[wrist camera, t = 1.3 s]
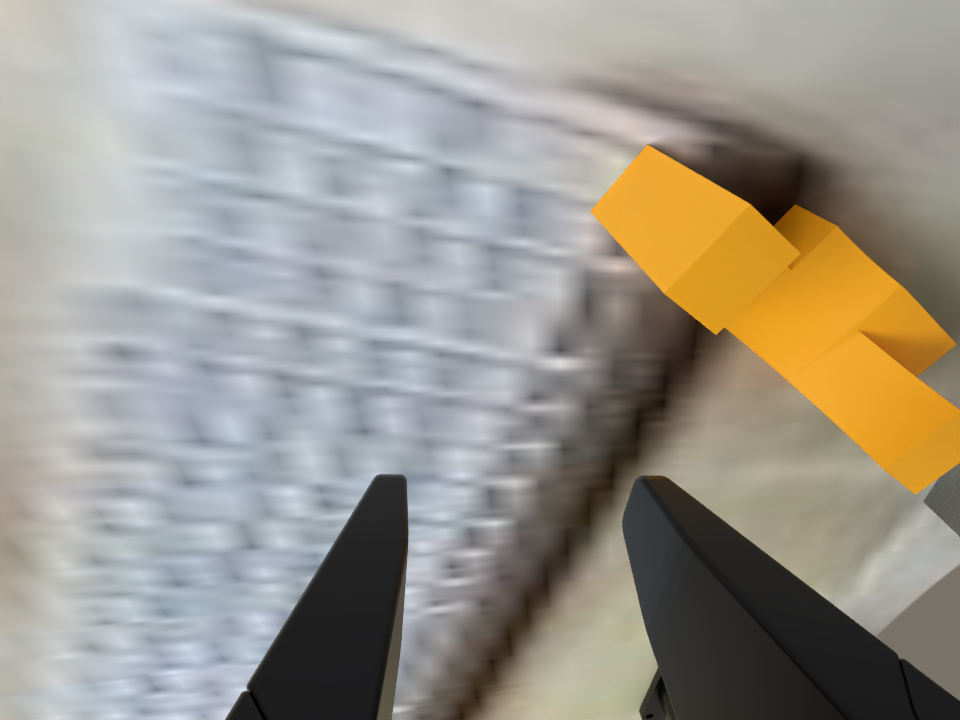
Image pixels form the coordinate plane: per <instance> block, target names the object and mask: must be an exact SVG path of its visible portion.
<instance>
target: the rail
mask: <svg viewBox="0 0 960 720" xmlns="http://www.w3.org/2000/svg"><path fill="white" fill-rule="evenodd" d="M924 503H925V504H926V505H927V506H928V507H929V508H930V509H931V510H933V511H934V512H935V513H936V514H937V515H938V516H939V517H940V518H941V519H942V520H943V521H944V522H945V523H946V524H947V525H948V526H949V527H950V528H951V529H952V530H954V531H955V532H956V533H957V534H958V535H959V536H960V463H959V464H957V465H956V466H955V467H953V468H952V469H950V470H949V471H948V472H946V473H945V474H943V475H942V476H941V478H940V479H939V480H938V482H937V483H936V485H935V486H934V488H933V489H932V491H931V492H930V494H929V495H928V497H927V498H926V500H925V501H924Z"/></svg>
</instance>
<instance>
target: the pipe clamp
mask: <svg viewBox="0 0 960 720" xmlns="http://www.w3.org/2000/svg"><path fill="white" fill-rule="evenodd" d="M590 212H591V213H592V214H593V215H594V216H595V217H596V218H597V219H598V221H599V222H600V223H601V224H602V225H603V226H604V227H605V228H606V229H607V231H608V232H609V233H610V234H611V235H612V236H613V237H614V238H615V239H616V241H617V242H618V243H619V244H620V245H621V246H622V247H623V248H624V249H625V250H626V252H627V253H628V254H629V255H630V256H631V257H632V258H633V259H634V260H635V262H636V263H637V264H638V265H639V266H640V267H641V268H642V269H643V270H644V272H645V273H646V274H647V275H648V276H649V277H650V278H651V279H652V280H653V282H654V283H655V284H656V285H657V286H658V287H659V288H660V289H661V290H662V292H663V293H664V294H665V295H667V296H668V297H669V298H670V299H672V300H673V301H674V302H675V303H677V304H678V305H679V306H680V307H682V308H683V309H684V310H685V311H687V312H688V313H689V314H690V315H692V316H693V317H694V318H695V319H697V320H698V321H699V322H700V323H702V324H703V325H704V326H705V327H707V328H708V329H709V330H710V331H712V332H713V333H714V334H715V335H717V334H718V333H719V332H720V331H721V330H722V329H723V328H724V327H725V328H726V329H727V330H728V331H730V332H731V333H732V334H733V335H735V336H736V337H737V338H738V339H740V340H741V341H742V342H743V343H744V344H746V345H747V346H748V347H749V348H750V349H752V350H753V351H754V352H755V353H756V354H758V355H759V356H760V357H761V358H762V359H763V360H765V361H766V362H767V363H768V364H769V365H770V366H771V367H773V368H774V369H775V370H776V371H777V372H778V373H780V374H781V375H782V376H783V377H784V378H785V379H786V380H788V381H789V382H790V383H791V384H792V385H793V386H794V387H795V388H797V389H798V390H799V391H800V392H801V393H802V394H803V395H804V396H806V397H807V398H808V399H809V400H810V401H811V402H812V403H813V404H814V405H816V406H817V407H818V408H819V409H820V410H821V411H822V412H823V413H824V414H825V415H827V416H828V417H829V418H830V419H831V420H832V421H833V422H834V423H835V424H836V425H837V426H838V427H840V428H841V429H842V430H843V431H844V432H845V433H846V434H847V435H848V436H849V437H850V438H851V439H852V440H854V441H855V442H856V443H857V444H858V445H859V446H860V447H861V448H862V449H863V450H864V451H865V452H866V453H867V454H868V455H869V456H870V457H872V458H873V459H874V460H875V461H876V462H877V463H878V464H879V465H880V466H881V467H882V468H883V469H884V470H885V471H886V472H888V473H889V474H890V475H891V476H893V477H894V478H895V479H896V480H898V481H899V482H900V483H901V484H903V485H904V486H905V487H906V488H908V489H909V490H910V491H911V492H913V493H914V494H915V495H916V494H917V493H918V492H920V491H921V490H923V489H924V488H925V487H927V486H928V485H930V484H931V483H932V482H934V481H935V480H937V479H938V478H939V477H941V476H942V475H943V474H945V473H946V472H948V471H949V470H950V469H952V468H953V467H955V466H956V465H957V464H959V463H960V410H959V409H958V408H957V407H955V406H954V405H952V404H951V403H950V402H948V401H947V400H946V399H944V398H943V397H942V396H940V395H939V394H938V393H936V392H935V391H934V390H933V389H931V388H930V387H929V386H927V385H926V384H925V383H923V382H922V381H921V380H920V379H918V378H917V376H918V375H919V374H920V373H922V372H923V371H924V370H925V369H927V368H928V367H929V366H930V365H932V364H933V363H934V362H936V361H937V360H938V359H939V358H941V357H942V356H943V355H944V354H946V353H947V352H948V351H949V350H951V349H952V348H953V347H954V346H956V345H957V344H956V343H955V342H954V341H953V340H952V338H951V337H950V336H949V335H948V334H947V333H946V332H945V331H944V330H943V329H942V328H941V327H940V326H939V325H938V323H937V322H936V321H935V320H934V319H933V318H932V317H931V316H930V315H929V314H928V313H927V312H926V311H925V309H924V308H923V307H922V306H921V305H920V304H919V303H918V302H917V301H916V300H915V299H914V298H913V297H912V296H911V294H910V293H909V292H908V291H907V290H906V289H905V288H904V287H903V286H901V285H900V284H899V283H898V282H896V281H895V280H894V279H893V278H892V277H890V276H889V275H888V274H887V273H886V272H885V271H883V270H882V269H881V268H880V267H879V266H878V265H877V264H875V263H874V262H873V261H872V260H871V259H870V258H869V257H868V256H867V255H866V254H865V253H863V252H862V251H861V250H860V249H859V248H858V247H857V246H856V245H855V244H854V243H853V242H852V241H851V240H850V239H849V238H848V237H847V236H846V235H845V234H844V232H843V231H842V230H841V229H840V228H839V227H838V226H837V225H835V224H833V223H831V222H829V221H827V220H825V219H823V218H821V217H819V216H817V215H815V214H813V213H811V212H809V211H807V210H805V209H803V208H802V207H800V206H798V205H796V204H795V205H794V206H793V207H792V208H791V209H790V210H789V211H788V212H787V213H786V214H785V215H784V216H783V217H782V218H781V219H780V220H779V221H778V222H777V223H776V224H775V225H774V226H772V225H771V224H770V223H769V222H768V221H767V220H766V219H765V218H764V217H763V216H762V215H761V214H760V213H759V212H758V211H757V210H756V209H755V208H754V207H753V206H752V205H751V204H749V203H748V202H746V201H744V200H742V199H741V198H739V197H737V196H736V195H734V194H732V193H730V192H729V191H727V190H725V189H723V188H722V187H720V186H718V185H717V184H715V183H713V182H711V181H710V180H708V179H706V178H704V177H703V176H701V175H699V174H698V173H696V172H694V171H692V170H691V169H689V168H687V167H686V166H684V165H682V164H680V163H679V162H677V161H675V160H673V159H672V158H670V157H668V156H667V155H665V154H663V153H661V152H660V151H658V150H656V149H654V148H653V147H651V146H649V145H648V144H647V145H646V147H645V148H644V149H643V150H642V151H641V152H640V154H639V155H638V156H637V157H636V158H635V160H634V161H633V162H632V163H631V164H630V165H629V167H628V168H627V169H626V170H625V171H624V172H623V174H622V175H621V176H620V177H619V178H618V179H617V181H616V182H615V183H614V184H613V185H612V187H611V188H610V189H609V190H608V191H607V192H606V194H605V195H604V196H603V197H602V198H601V199H600V201H599V202H598V203H597V204H596V205H595V206H594V208H593V209H592V210H591V211H590Z"/></svg>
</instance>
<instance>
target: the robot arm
mask: <svg viewBox="0 0 960 720" xmlns="http://www.w3.org/2000/svg"><path fill="white" fill-rule="evenodd" d="M622 528H623V534H624V539H625V543H626V547H627V551H628V556H629V560H630V564H631V569H632V573H633V577H634V582H635V586H636V590H637V594H638V599H639V603H640V607H641V612H642V616H643V620H644V623H645V627H646V631H647V634H648V637H649V640H650V643H651V647H652V650H653V652H654V655H655V658H656V661H657V664H658V667H659V668H658V670H657V672H656V674H655V676H654V679H653V681H652V683H651V685H650V688H649V690H648V692H647V694H646V697H645V699H644V701H643V703H642V705H641V708H640V710H639V712H640V715H641V718H642V720H960V701H959V700H958V699H956V698H955V697H954V696H952V695H951V694H949V693H948V692H947V691H946V690H944V689H943V688H942V687H940V686H939V685H938V684H936V683H935V682H934V681H932V680H931V679H930V678H928V677H927V676H926V675H924V674H923V673H922V672H920V671H919V670H918V669H917V668H915V667H914V666H913V665H911V664H910V663H909V662H908V661H906V660H905V659H899V658H898V655H897V654H896V653H895V652H894V651H893V650H891V649H890V648H889V647H888V646H886V645H885V644H884V643H882V642H881V641H880V640H879V639H877V638H876V637H875V636H873V635H872V634H871V633H869V632H868V631H867V630H866V629H864V628H863V627H862V626H860V625H859V624H858V623H856V622H855V621H854V620H853V619H851V618H850V617H849V616H847V615H846V614H845V613H843V612H842V611H841V610H839V609H838V608H837V607H836V606H834V605H833V604H832V603H830V602H829V601H828V600H826V599H825V598H824V597H823V596H821V595H820V594H819V593H817V592H816V591H815V590H813V589H812V588H811V587H809V586H808V585H807V584H806V583H804V582H803V581H802V580H800V579H799V578H798V577H796V576H795V575H794V574H792V573H791V572H790V571H789V570H787V569H786V568H785V567H783V566H782V565H781V564H779V563H778V562H777V561H776V560H774V559H773V558H772V557H770V556H769V555H768V554H766V553H765V552H764V551H762V550H761V549H760V548H759V547H757V546H756V545H755V544H753V543H752V542H751V541H749V540H748V539H747V538H746V537H744V536H743V535H742V534H740V533H739V532H738V531H736V530H735V529H734V528H732V527H731V526H730V525H729V524H727V523H726V522H725V521H723V520H722V519H721V518H719V517H718V516H717V515H716V514H714V513H713V512H712V511H710V510H709V509H708V508H706V507H705V506H704V505H702V504H701V503H700V502H699V501H697V500H696V499H695V498H693V497H692V496H691V495H689V494H688V493H687V492H686V491H684V490H683V489H682V488H680V487H679V486H678V485H676V484H675V483H674V482H672V481H671V480H670V479H668V478H667V477H664V476H640V477H638V478H637V479H636V480H635V481H634V484H633V487H632V490H631V493H630V496H629V499H628V502H627V505H626V508H625V511H624V514H623V520H622ZM407 554H408V505H407V480H406V477H405V476H404V475H401V474H380V475H377V476H376V477H375V478H374V479H373V481H372V482H371V484H370V485H369V487H368V489H367V490H366V492H365V494H364V495H363V497H362V499H361V500H360V502H359V503H358V505H357V507H356V508H355V510H354V512H353V513H352V515H351V516H350V518H349V520H348V521H347V523H346V525H345V526H344V528H343V529H342V531H341V533H340V534H339V536H338V538H337V539H336V541H335V542H334V544H333V546H332V547H331V549H330V551H329V552H328V554H327V555H326V557H325V559H324V560H323V562H322V564H321V565H320V567H319V568H318V570H317V572H316V573H315V575H314V577H313V578H312V580H311V581H310V583H309V585H308V586H307V588H306V590H305V591H304V593H303V594H302V596H301V598H300V599H299V601H298V603H297V604H296V606H295V607H294V609H293V611H292V612H291V614H290V616H289V617H288V619H287V620H286V622H285V624H284V625H283V627H282V629H281V630H280V632H279V634H278V635H277V637H276V638H275V640H274V642H273V643H272V645H271V647H270V648H269V650H268V651H267V653H266V655H265V656H264V658H263V660H262V661H261V663H260V664H259V666H258V668H257V669H256V671H255V673H254V674H253V676H252V677H251V679H250V681H249V682H248V684H247V691H244V692H242V693H241V695H240V696H239V698H238V700H237V701H236V703H235V704H234V706H233V708H232V709H231V711H230V713H229V714H228V716H227V717H226V719H225V720H391V719H392V712H393V704H394V696H395V689H396V681H397V674H398V666H399V659H400V649H401V639H402V625H403V611H404V596H405V582H406V568H407Z"/></svg>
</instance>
